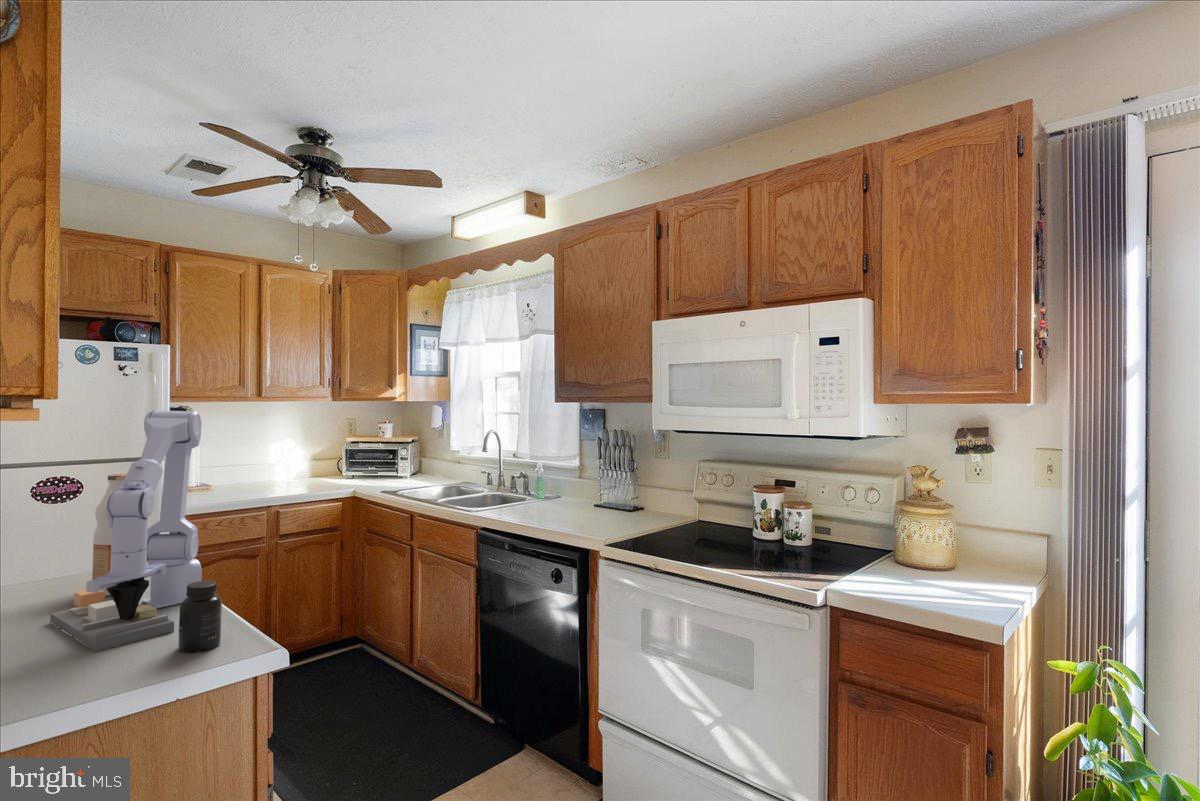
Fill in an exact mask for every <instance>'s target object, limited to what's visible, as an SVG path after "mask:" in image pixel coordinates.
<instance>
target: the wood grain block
mask: <svg viewBox="0 0 1200 801" xmlns="http://www.w3.org/2000/svg"><path fill="white" fill-rule="evenodd" d="M157 610H158V608H155V607H153V606H151V605H148V604H144V605H141V606H139V607H137V609H136V613H135V616H134V618H133V619H131V621H133V622H136V621H140V620H145V619H149V618H153V617H156V616H157V612H158V611H157Z"/></svg>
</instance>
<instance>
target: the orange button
mask: <svg viewBox="0 0 1200 801" xmlns="http://www.w3.org/2000/svg"><path fill="white" fill-rule="evenodd" d="M73 593H74V594H73V605H75V606H77V607H81V608H82V607H87V606H89V605H91V604H96V603H100V602H105V601H106V598H105V597H106V596H105V591H104V590H99V592H95V593H92V592H86V589H83V590H77V591H74V592H73Z"/></svg>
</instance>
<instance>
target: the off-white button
mask: <svg viewBox="0 0 1200 801" xmlns="http://www.w3.org/2000/svg"><path fill="white" fill-rule="evenodd" d="M118 616H119V613H118V610H117V607H116V604H115V602H114V600H113V599H111V600H107V601H106V600H105V602H100V603H96V604H91V605H89V608H88V617H89V618H90V619H92V620H94V621H100V620H105V619H109V618H114V617H118Z"/></svg>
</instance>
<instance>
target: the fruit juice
mask: <svg viewBox="0 0 1200 801" xmlns="http://www.w3.org/2000/svg"><path fill="white" fill-rule="evenodd" d="M126 474H127V473H114V474H113V473H112V474H111V473H110V474H108V475H107V482H108V486H107V488H106V491H105V494H104V496H103V497H102V499H101V501H100V502H99V504H98V505H97V506H96V509H95V513H94V516H95V520H96V523H97V525H96V528H95V530H94V533H93V542H92V543H93V544H92V545H93V547H92V549H93V550H92V570H91V571H92V577H91V580H94V579H97V578H99V577H102V576H104V575H107V574H109V571H110V568H111V538H112V528H109V519H108V516H107V513H106V506H107V500H108V497H109V496H110V494H111V493H113V492H115V491H117V490H119V489H120V487H121V485H122V483H123V481H124V478H125V476H126ZM102 590H104V591H105V597H108V596H109V597H111V595H110V593H109V592H108V591H107V590H106V589H102Z"/></svg>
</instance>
